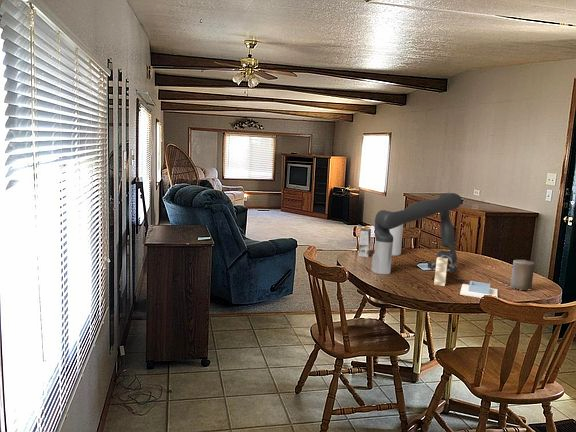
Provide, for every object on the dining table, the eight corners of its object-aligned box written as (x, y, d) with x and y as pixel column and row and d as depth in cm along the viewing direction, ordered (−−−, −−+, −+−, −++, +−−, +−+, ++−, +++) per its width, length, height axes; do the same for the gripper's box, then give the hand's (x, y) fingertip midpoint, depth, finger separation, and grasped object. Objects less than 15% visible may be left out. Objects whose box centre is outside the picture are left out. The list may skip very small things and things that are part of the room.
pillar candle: (535, 291, 236) (539, 261, 234) (516, 290, 235) (520, 261, 233) (524, 286, 245) (527, 257, 243) (506, 285, 244) (509, 256, 243)
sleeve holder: (460, 294, 223) (460, 285, 223) (462, 286, 238) (463, 277, 237) (497, 300, 217) (498, 291, 217) (497, 291, 232) (498, 283, 231)
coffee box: (368, 257, 291) (370, 231, 289) (358, 256, 292) (360, 230, 290) (369, 254, 300) (371, 229, 298) (358, 253, 301) (360, 228, 299)
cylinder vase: (396, 251, 312) (399, 213, 309) (403, 256, 300) (407, 216, 297) (377, 251, 310) (381, 213, 306) (384, 255, 298) (388, 216, 294)
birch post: (434, 284, 238) (436, 259, 236) (435, 282, 243) (437, 257, 241) (444, 286, 236) (447, 260, 235) (445, 283, 241) (448, 258, 239)
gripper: (431, 254, 255) (427, 260, 240) (459, 258, 250) (457, 264, 235) (429, 268, 256) (425, 274, 241) (457, 272, 251) (455, 279, 236)
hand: (441, 269), depth 238 cm, fingers open, 8 cm apart
